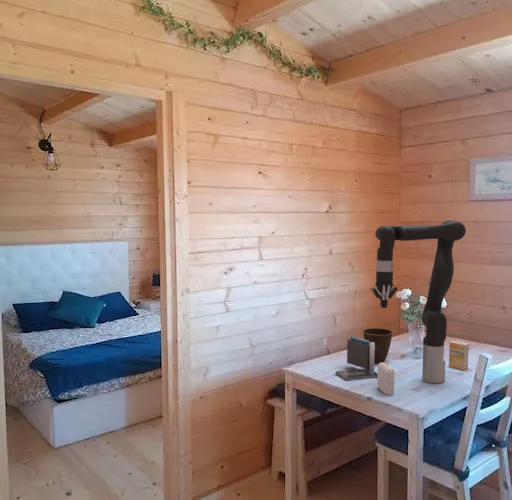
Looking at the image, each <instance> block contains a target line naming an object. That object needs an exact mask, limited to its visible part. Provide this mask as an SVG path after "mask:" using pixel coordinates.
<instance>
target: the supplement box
mask: <svg viewBox="0 0 512 500" xmlns="http://www.w3.org/2000/svg"><path fill="white" fill-rule="evenodd" d="M469 350H470V343H467V342H463V341H458V340H451V341H450V342H449V349H448V351H449V353H448V367H449V368H452V369H457V370H462V371H465V370H468V368H469Z"/></svg>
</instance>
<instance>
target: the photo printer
mask: <svg viewBox="0 0 512 500" xmlns="http://www.w3.org/2000/svg"><path fill="white" fill-rule="evenodd" d="M377 373H378V378H377V385H376V386H377V389H379V391H381V392H383V394H384V395H387V396H393V395H394V393H395V370H394V367H392V366H391V365H390V364H389V363H387V362H384V363H378V364H377Z"/></svg>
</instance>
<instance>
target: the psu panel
mask: <svg viewBox="0 0 512 500" xmlns="http://www.w3.org/2000/svg"><path fill="white" fill-rule="evenodd" d="M335 374H336V375H337V376H338V377H339V378H341V379H342V380H344V381H345V382H347V381H357V380H367V379H368V380H369V379H378V372H376V371H375V370H374V371H369V369H365V368H356V369H345V370H336V371H335Z"/></svg>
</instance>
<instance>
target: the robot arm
mask: <svg viewBox="0 0 512 500" xmlns="http://www.w3.org/2000/svg"><path fill="white" fill-rule="evenodd" d="M466 232H467V231H466V227H465V225H464V224H463V223H462V222H460V221H457V220H449V219H448V220H444V221H443V222H441V224H435V225H434V224H431V225H430V224H429V225H428V224H405V225H382V226H379V227H377V228H376V231H375V234H374V235H375V238H376V239H377V240H378V241H379V247H378V248H377V250H376V263H375V264H376V265H375V281H376V282H375V284H374V287H370V291H371V292H372V293H373V295H374V296H375V297H376V298H377V299H379V300H380V304H379V305H380V307H381V308H382V309H387V307H388V304H389V303H388V302H389V301H388V300H389V299H392V298H393V296H394V295H395V294H396V292H397V291H398V287H397V286H396V285H394V283H393V280H394V262H393V261H394V247H395V242H396V241H402V242H407V241H419V240H420V241H423V240H437V246H436V252H435V255H434V256H435V257H434V262H433V267H432V270H431V274H430V275H431V276H430V281H429V287H428V292H427V298H426V302H425V305H424V308H423V312H422V314H421V322H422V324H423V325H424V326H425V327H426V331H425V332H426V333H425V336H424V337H423V340H422V370H421V371H422V373H421V375H422V376H421V379H422V382H425V383H430V384H442V383H443V382H446V361H445V360H444V359H445V356H444V355H445V342H446V338H447V330H448V329H447V328H448V327H447V326H448V324H447V323H448V321H447V317H446V315H445V314H444V313H442V305H443V301H444V298H445V296H446V294H447V293H448V291H449V290H450V288H451V286H452V282H453V276H454V273H455V272H454V270H455V267H454V260H453V247H454V244H455V242H456V241H457V242H458V241H460V240H461V239H462V238H464V237H465V235H466Z"/></svg>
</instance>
